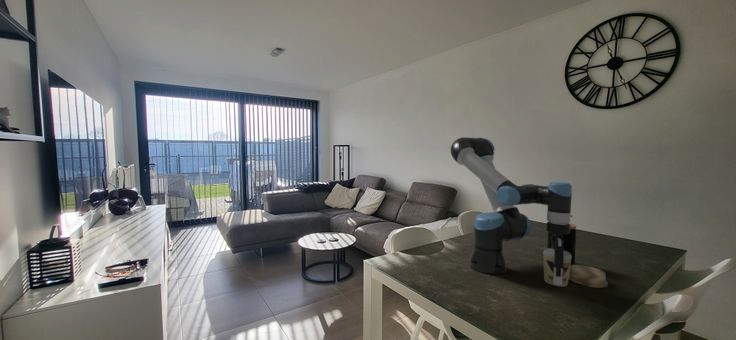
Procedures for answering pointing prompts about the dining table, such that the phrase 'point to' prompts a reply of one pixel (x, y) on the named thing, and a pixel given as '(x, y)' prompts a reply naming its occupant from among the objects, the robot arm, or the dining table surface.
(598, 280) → the pedestal
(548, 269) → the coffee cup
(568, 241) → the coffee jar
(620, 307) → the dining table surface
